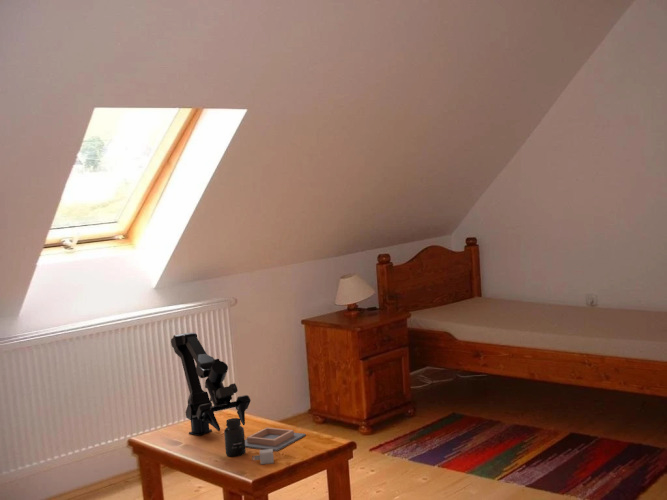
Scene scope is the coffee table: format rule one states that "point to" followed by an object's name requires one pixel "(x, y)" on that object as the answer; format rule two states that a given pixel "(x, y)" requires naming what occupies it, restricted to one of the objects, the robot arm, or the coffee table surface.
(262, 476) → the coffee table surface
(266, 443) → the dock tray
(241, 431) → the supplement bottle
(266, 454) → the usb wall charger
